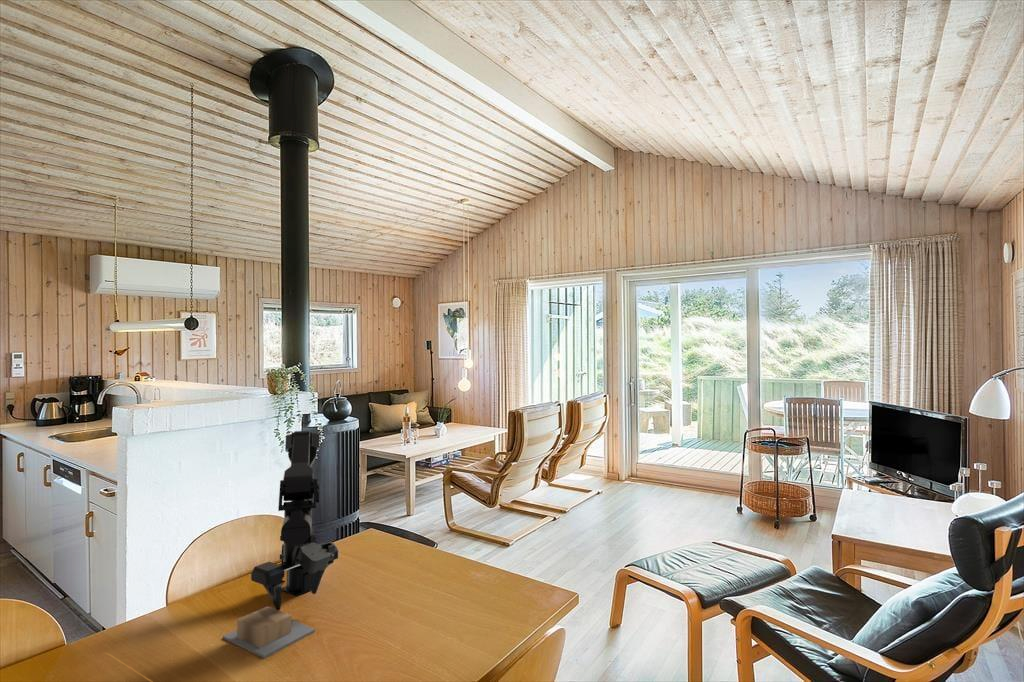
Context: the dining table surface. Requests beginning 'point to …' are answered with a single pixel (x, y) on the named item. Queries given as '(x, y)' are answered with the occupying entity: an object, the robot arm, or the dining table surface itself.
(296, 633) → the rubber mat
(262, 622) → the light brown wooden block
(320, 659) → the dining table surface
